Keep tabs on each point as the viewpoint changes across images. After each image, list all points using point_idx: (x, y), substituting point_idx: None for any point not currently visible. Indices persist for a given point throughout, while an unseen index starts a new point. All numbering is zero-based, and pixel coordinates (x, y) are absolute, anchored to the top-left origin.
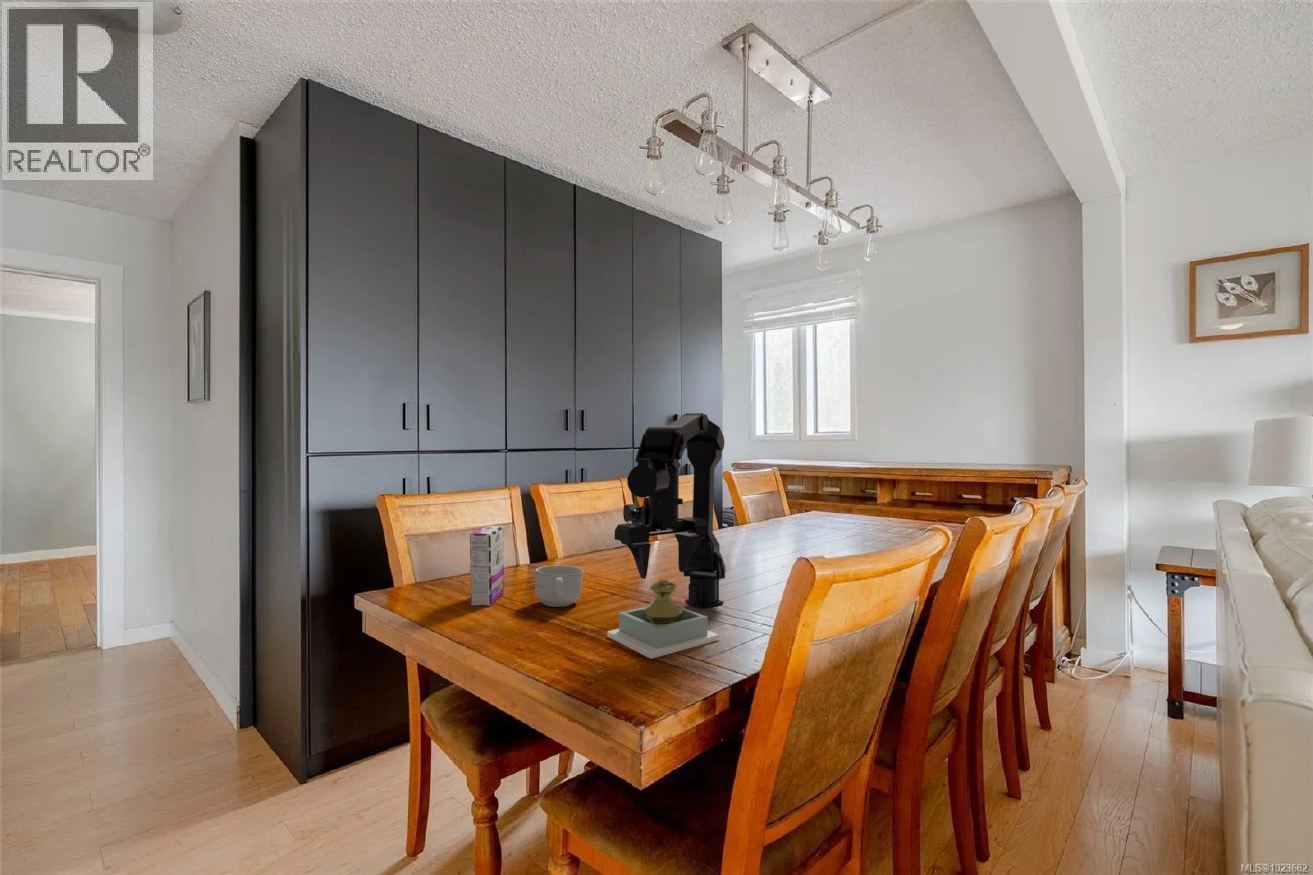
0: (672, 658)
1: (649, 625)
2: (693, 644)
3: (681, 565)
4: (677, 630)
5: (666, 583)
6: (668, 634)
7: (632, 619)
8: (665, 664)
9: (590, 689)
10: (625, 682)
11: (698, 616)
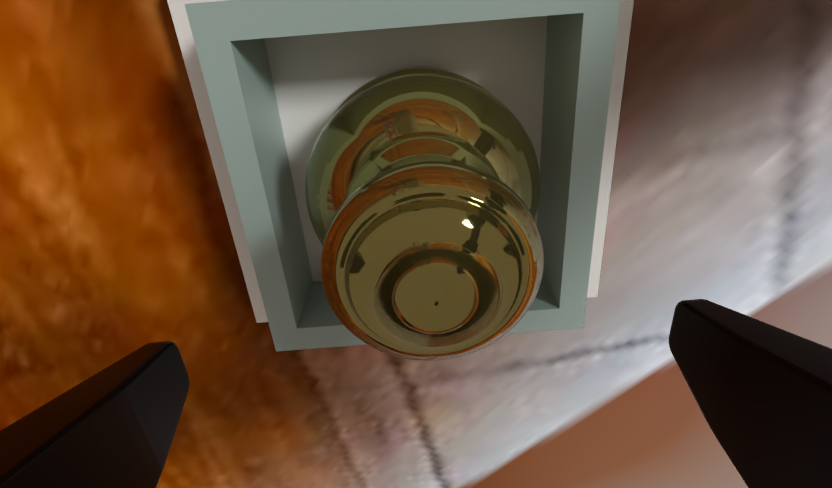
0: None
1: (266, 301)
2: None
3: (714, 379)
4: None
5: (432, 334)
6: None
7: (228, 164)
8: (288, 362)
9: (8, 399)
10: None
11: (558, 297)
